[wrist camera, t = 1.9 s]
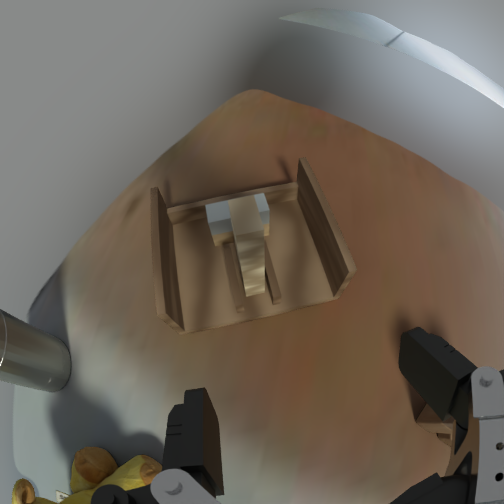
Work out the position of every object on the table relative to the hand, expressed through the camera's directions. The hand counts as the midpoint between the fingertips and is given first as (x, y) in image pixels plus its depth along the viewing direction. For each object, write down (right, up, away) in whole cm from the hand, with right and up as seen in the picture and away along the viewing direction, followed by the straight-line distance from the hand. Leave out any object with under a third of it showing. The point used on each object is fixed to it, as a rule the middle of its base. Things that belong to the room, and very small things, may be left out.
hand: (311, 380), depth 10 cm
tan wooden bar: (-2, +1, +29) cm, 29 cm away
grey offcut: (-4, +9, +30) cm, 32 cm away
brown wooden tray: (-3, +4, +32) cm, 32 cm away
